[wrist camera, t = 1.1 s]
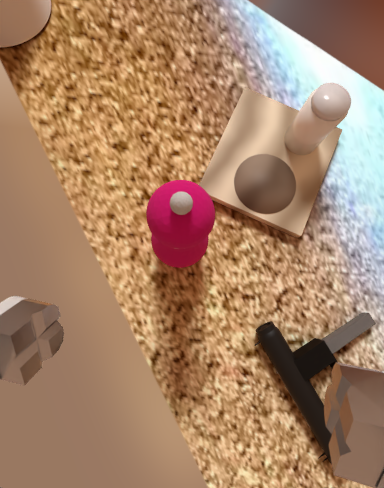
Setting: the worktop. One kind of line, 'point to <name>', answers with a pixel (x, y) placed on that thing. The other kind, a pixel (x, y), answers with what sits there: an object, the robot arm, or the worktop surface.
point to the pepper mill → (180, 222)
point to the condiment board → (266, 166)
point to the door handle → (309, 368)
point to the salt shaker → (317, 118)
